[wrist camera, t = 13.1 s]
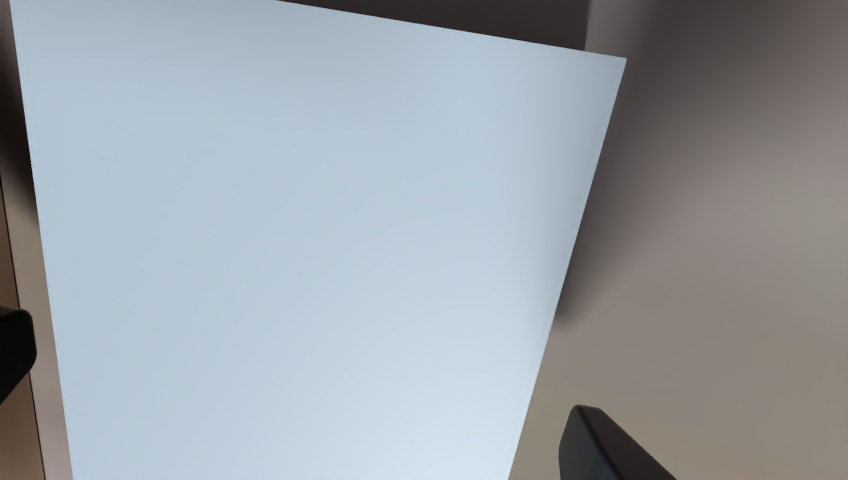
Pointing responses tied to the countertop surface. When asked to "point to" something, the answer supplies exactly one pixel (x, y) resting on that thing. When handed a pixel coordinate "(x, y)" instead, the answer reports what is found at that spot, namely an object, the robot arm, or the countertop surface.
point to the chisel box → (16, 394)
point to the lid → (300, 234)
